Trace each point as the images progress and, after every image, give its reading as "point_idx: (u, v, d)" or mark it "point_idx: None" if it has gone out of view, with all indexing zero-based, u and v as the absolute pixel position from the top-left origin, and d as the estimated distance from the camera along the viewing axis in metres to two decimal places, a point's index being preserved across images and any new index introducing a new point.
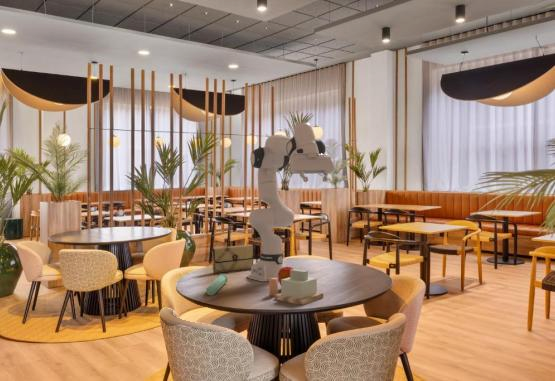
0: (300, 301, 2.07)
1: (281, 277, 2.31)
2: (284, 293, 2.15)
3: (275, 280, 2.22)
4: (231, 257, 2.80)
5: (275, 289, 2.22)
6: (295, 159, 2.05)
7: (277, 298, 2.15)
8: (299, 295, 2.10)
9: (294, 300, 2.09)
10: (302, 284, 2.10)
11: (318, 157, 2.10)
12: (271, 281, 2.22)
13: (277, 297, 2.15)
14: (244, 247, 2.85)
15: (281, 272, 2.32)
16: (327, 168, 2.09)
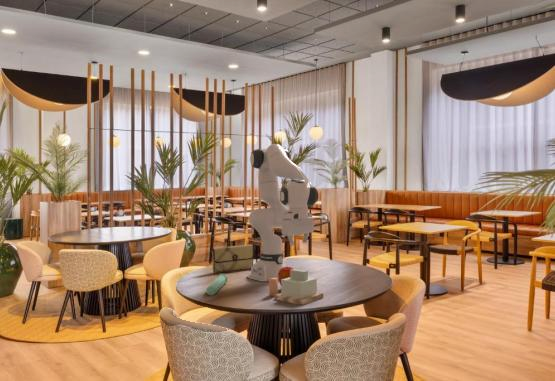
0: (300, 301, 2.07)
1: (281, 277, 2.31)
2: (284, 293, 2.15)
3: (275, 280, 2.22)
4: (231, 257, 2.80)
5: (275, 289, 2.22)
6: (291, 224, 2.09)
7: (277, 298, 2.15)
8: (299, 295, 2.10)
9: (294, 300, 2.09)
10: (302, 284, 2.10)
11: (305, 219, 2.17)
12: (271, 281, 2.22)
13: (277, 297, 2.15)
14: (244, 247, 2.85)
15: (281, 272, 2.32)
16: (309, 231, 2.20)
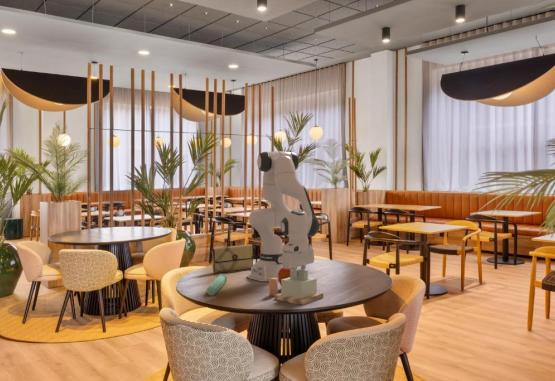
0: (300, 301, 2.07)
1: (281, 277, 2.31)
2: (284, 293, 2.15)
3: (275, 280, 2.22)
4: (231, 257, 2.81)
5: (275, 289, 2.22)
6: (291, 257, 2.09)
7: (277, 298, 2.15)
8: (299, 295, 2.10)
9: (294, 300, 2.09)
10: (302, 284, 2.10)
11: (305, 251, 2.18)
12: (271, 281, 2.22)
13: (277, 297, 2.15)
14: (244, 247, 2.85)
15: (281, 272, 2.32)
16: (309, 262, 2.21)
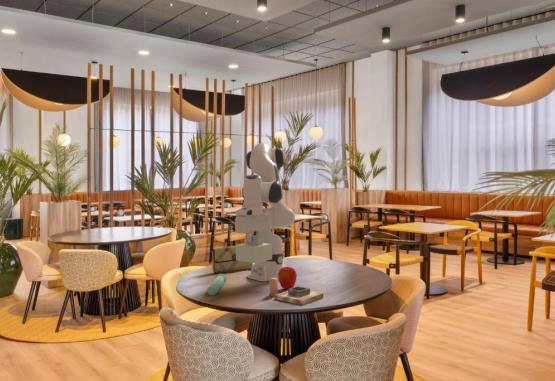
0: (300, 301, 2.07)
1: (281, 277, 2.31)
2: (238, 258, 2.12)
3: (275, 280, 2.22)
4: (231, 257, 2.81)
5: (275, 289, 2.22)
6: (244, 220, 2.06)
7: (277, 298, 2.15)
8: (252, 259, 2.07)
9: (294, 300, 2.09)
10: (255, 248, 2.07)
11: (260, 216, 2.15)
12: (271, 281, 2.22)
13: (277, 297, 2.15)
14: None
15: (281, 272, 2.32)
16: (265, 228, 2.18)
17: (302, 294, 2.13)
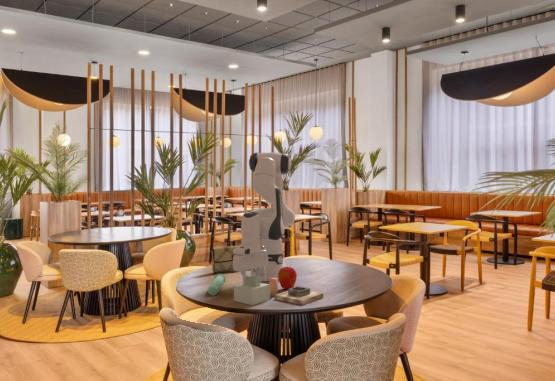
0: (300, 301, 2.07)
1: (281, 277, 2.31)
2: (236, 299, 2.13)
3: (275, 280, 2.22)
4: (230, 257, 2.81)
5: (275, 289, 2.22)
6: (242, 259, 2.07)
7: (277, 298, 2.15)
8: (250, 302, 2.07)
9: (294, 300, 2.09)
10: (253, 290, 2.07)
11: (258, 253, 2.15)
12: (271, 281, 2.22)
13: (277, 297, 2.15)
14: None
15: (281, 272, 2.32)
16: (263, 265, 2.18)
17: (302, 294, 2.13)
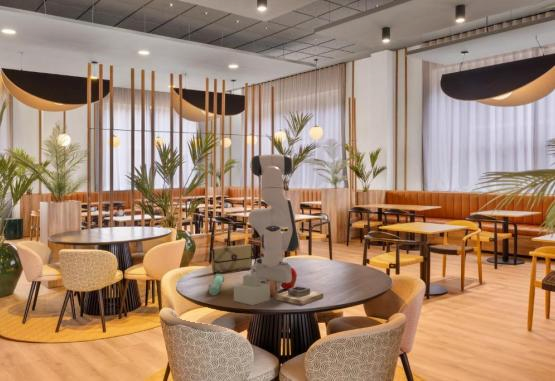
0: (300, 301, 2.07)
1: None
2: (236, 299, 2.13)
3: None
4: (230, 257, 2.81)
5: (275, 289, 2.22)
6: (257, 267, 2.27)
7: (277, 298, 2.15)
8: (250, 302, 2.07)
9: (294, 300, 2.09)
10: (253, 290, 2.07)
11: (276, 267, 2.20)
12: (271, 281, 2.22)
13: (277, 297, 2.15)
14: (243, 247, 2.86)
15: None
16: (281, 280, 2.18)
17: (302, 294, 2.13)
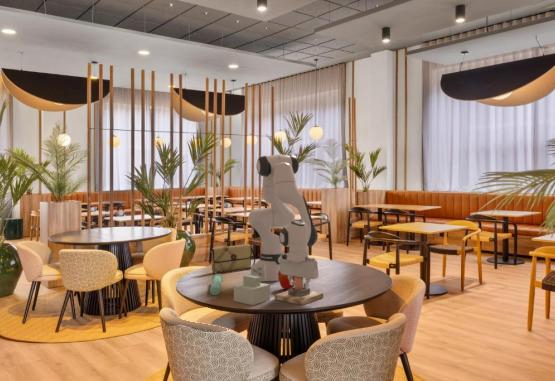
0: (300, 301, 2.07)
1: (281, 277, 2.31)
2: (236, 299, 2.13)
3: (301, 278, 2.15)
4: (230, 257, 2.81)
5: (301, 287, 2.16)
6: (282, 263, 2.20)
7: (277, 298, 2.15)
8: (250, 302, 2.07)
9: (294, 300, 2.09)
10: (253, 290, 2.07)
11: (301, 263, 2.13)
12: (297, 279, 2.15)
13: (277, 297, 2.15)
14: (242, 247, 2.86)
15: None
16: (307, 277, 2.12)
17: (302, 294, 2.13)
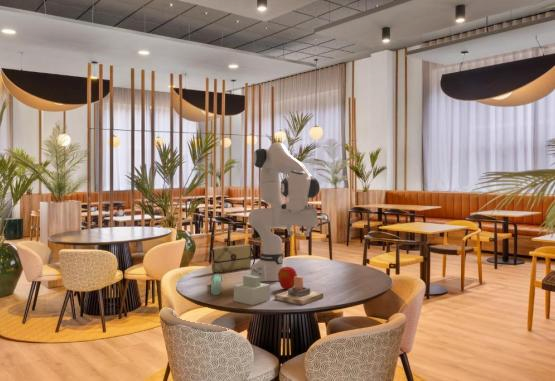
0: (300, 301, 2.07)
1: (281, 277, 2.31)
2: (236, 299, 2.13)
3: (300, 278, 2.15)
4: (230, 257, 2.81)
5: (301, 288, 2.15)
6: (281, 213, 2.20)
7: (277, 298, 2.15)
8: (250, 302, 2.07)
9: (294, 300, 2.09)
10: (253, 290, 2.07)
11: (301, 212, 2.13)
12: (296, 279, 2.15)
13: (277, 297, 2.15)
14: (242, 247, 2.87)
15: (281, 272, 2.32)
16: (307, 225, 2.11)
17: (302, 294, 2.13)
